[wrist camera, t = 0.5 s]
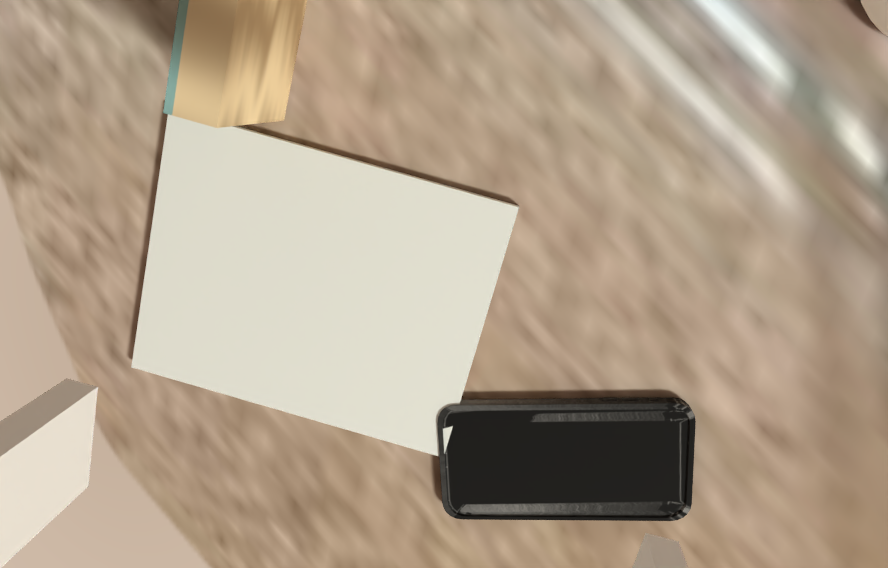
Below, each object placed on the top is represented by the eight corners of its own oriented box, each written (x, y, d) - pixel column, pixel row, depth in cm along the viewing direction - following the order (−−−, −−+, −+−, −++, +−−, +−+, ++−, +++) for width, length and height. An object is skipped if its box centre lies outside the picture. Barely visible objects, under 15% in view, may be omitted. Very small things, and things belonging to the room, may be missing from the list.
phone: (690, 520, 41) (443, 519, 43) (686, 509, 42) (444, 508, 44) (696, 401, 39) (436, 404, 41) (691, 392, 40) (437, 396, 42)
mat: (173, 108, 38) (168, 108, 38) (519, 205, 38) (518, 207, 37) (136, 363, 43) (131, 367, 42) (444, 452, 42) (443, 457, 42)
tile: (276, -86, 35) (199, -145, 26) (321, -74, 35) (259, -129, 26) (242, 108, 38) (163, 113, 29) (284, 120, 38) (216, 128, 29)
